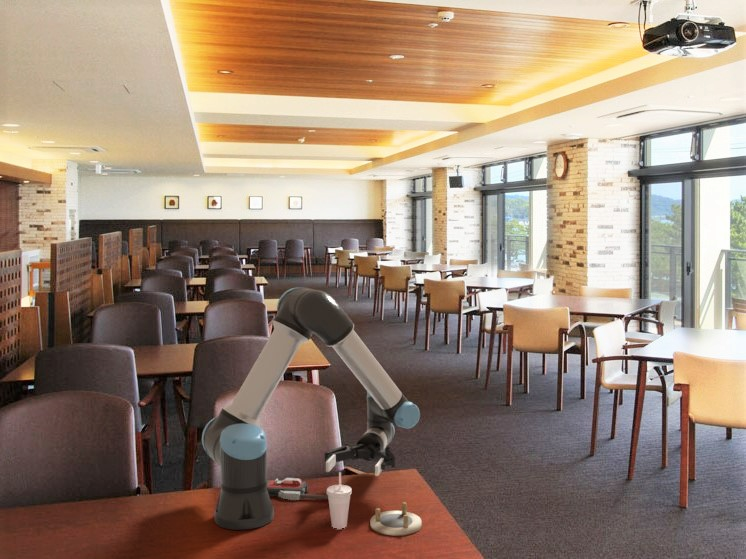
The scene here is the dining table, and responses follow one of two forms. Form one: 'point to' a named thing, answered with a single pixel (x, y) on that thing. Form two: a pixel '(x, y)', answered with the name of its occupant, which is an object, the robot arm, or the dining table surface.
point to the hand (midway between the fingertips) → (351, 469)
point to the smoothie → (339, 504)
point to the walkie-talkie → (290, 489)
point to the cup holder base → (396, 522)
